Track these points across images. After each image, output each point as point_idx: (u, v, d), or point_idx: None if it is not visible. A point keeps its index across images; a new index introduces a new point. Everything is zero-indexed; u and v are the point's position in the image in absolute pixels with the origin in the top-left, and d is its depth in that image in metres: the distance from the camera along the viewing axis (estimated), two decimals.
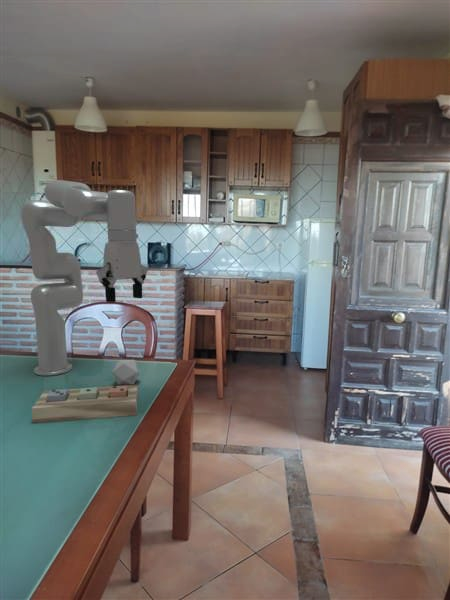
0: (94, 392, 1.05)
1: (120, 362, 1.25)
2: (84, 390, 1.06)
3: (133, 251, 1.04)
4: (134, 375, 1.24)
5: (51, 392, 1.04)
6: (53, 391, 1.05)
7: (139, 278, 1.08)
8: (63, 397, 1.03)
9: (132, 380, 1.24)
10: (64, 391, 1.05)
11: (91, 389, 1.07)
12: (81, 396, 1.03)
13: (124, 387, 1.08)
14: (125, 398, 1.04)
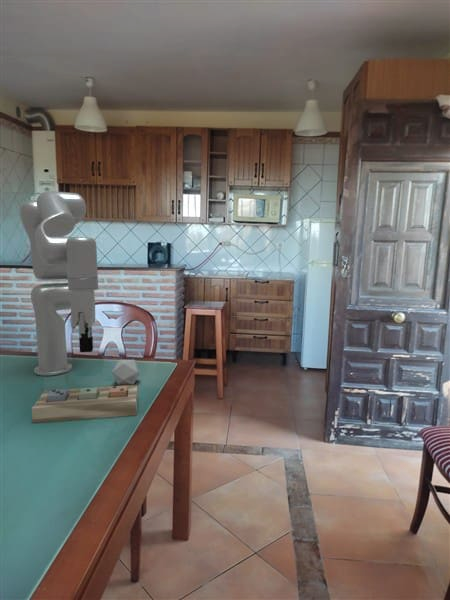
0: (94, 392, 1.05)
1: (119, 362, 1.25)
2: (84, 390, 1.06)
3: (94, 297, 1.04)
4: (134, 375, 1.24)
5: (51, 392, 1.04)
6: (53, 391, 1.05)
7: (91, 328, 1.05)
8: (63, 397, 1.03)
9: (132, 380, 1.24)
10: (64, 391, 1.05)
11: (91, 389, 1.07)
12: (81, 396, 1.03)
13: (124, 387, 1.08)
14: (125, 398, 1.04)
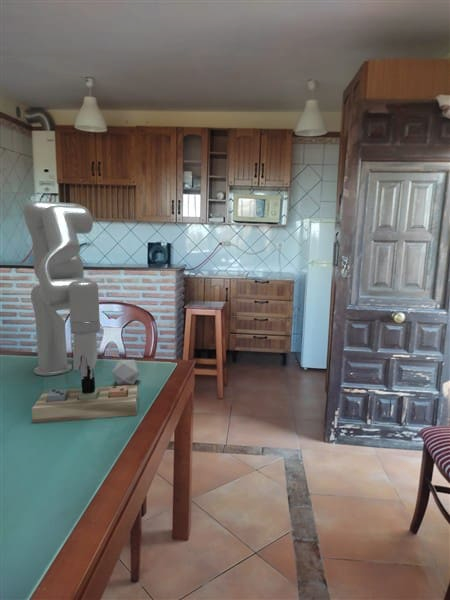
0: (94, 394, 1.05)
1: (120, 362, 1.25)
2: None
3: (96, 338, 1.06)
4: (134, 375, 1.24)
5: (51, 392, 1.04)
6: (53, 391, 1.05)
7: (93, 368, 1.06)
8: (63, 397, 1.03)
9: (132, 380, 1.24)
10: (64, 391, 1.05)
11: None
12: (81, 398, 1.04)
13: (124, 387, 1.08)
14: (125, 398, 1.04)
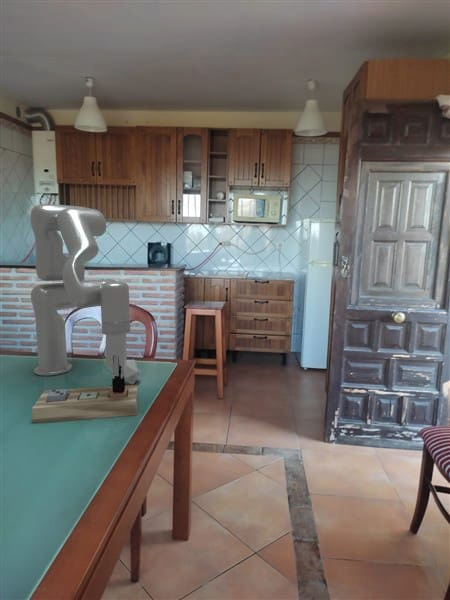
0: (94, 397, 1.05)
1: None
2: (85, 394, 1.06)
3: None
4: (134, 375, 1.24)
5: (51, 392, 1.04)
6: (53, 391, 1.05)
7: None
8: (63, 397, 1.03)
9: (132, 380, 1.24)
10: (64, 391, 1.05)
11: (91, 394, 1.07)
12: None
13: None
14: (125, 398, 1.04)
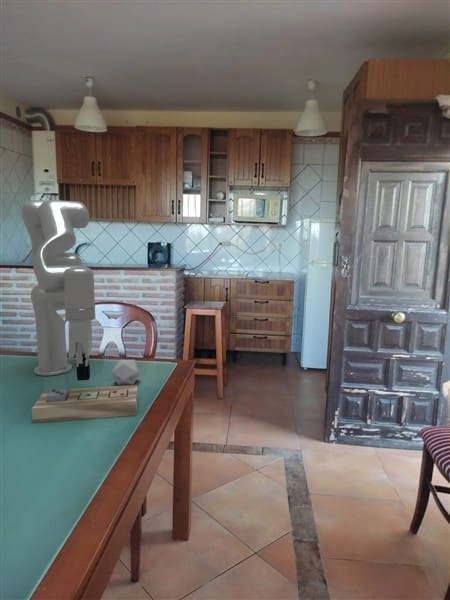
0: (94, 397, 1.05)
1: (120, 362, 1.25)
2: (85, 394, 1.06)
3: (91, 326, 1.05)
4: (134, 375, 1.24)
5: (51, 392, 1.04)
6: (53, 391, 1.05)
7: (88, 356, 1.06)
8: (63, 397, 1.03)
9: (132, 380, 1.24)
10: (64, 391, 1.05)
11: (91, 394, 1.07)
12: None
13: (124, 392, 1.08)
14: (125, 398, 1.04)
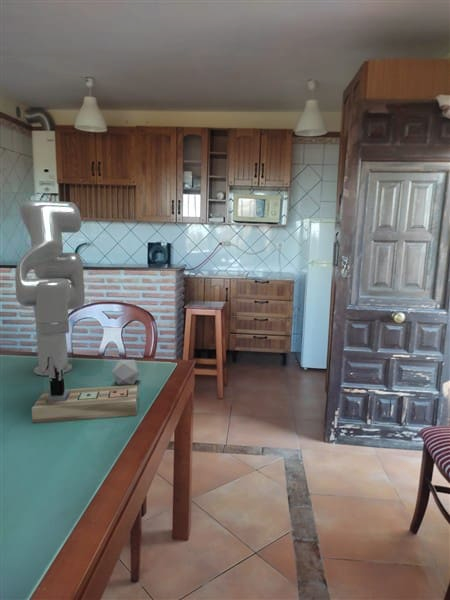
0: (94, 397, 1.05)
1: (120, 362, 1.25)
2: (85, 394, 1.06)
3: (65, 339, 1.04)
4: (134, 375, 1.24)
5: None
6: None
7: (62, 370, 1.05)
8: (63, 399, 1.03)
9: (132, 380, 1.24)
10: (64, 392, 1.05)
11: (91, 394, 1.07)
12: None
13: (124, 392, 1.08)
14: (125, 398, 1.04)
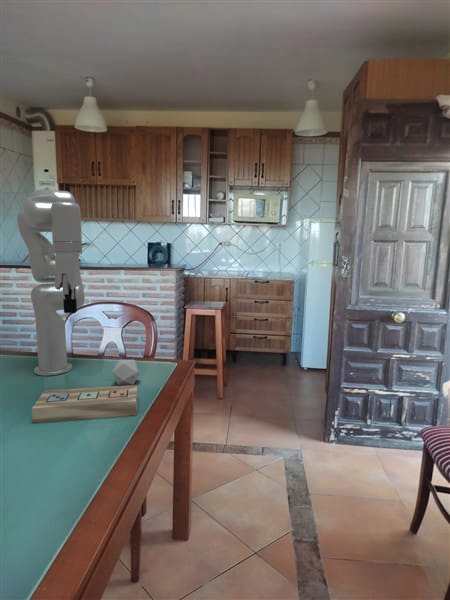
0: (94, 397, 1.05)
1: (120, 362, 1.25)
2: (85, 394, 1.06)
3: (78, 261, 1.09)
4: (134, 375, 1.24)
5: (51, 397, 1.04)
6: (53, 396, 1.05)
7: (75, 290, 1.10)
8: None
9: (132, 380, 1.24)
10: (64, 396, 1.05)
11: (91, 394, 1.07)
12: None
13: (124, 392, 1.08)
14: (125, 398, 1.04)
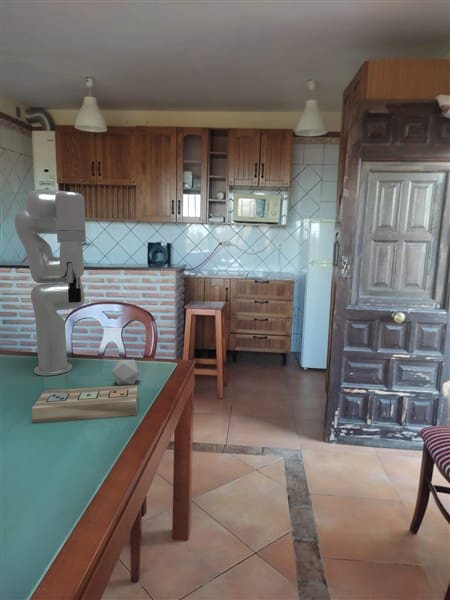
0: (94, 397, 1.05)
1: (120, 362, 1.25)
2: (85, 394, 1.06)
3: (82, 251, 1.10)
4: (134, 375, 1.24)
5: (51, 397, 1.04)
6: (53, 396, 1.05)
7: (79, 280, 1.11)
8: None
9: (132, 380, 1.24)
10: (64, 396, 1.05)
11: (91, 394, 1.07)
12: None
13: (124, 392, 1.08)
14: (125, 398, 1.04)
